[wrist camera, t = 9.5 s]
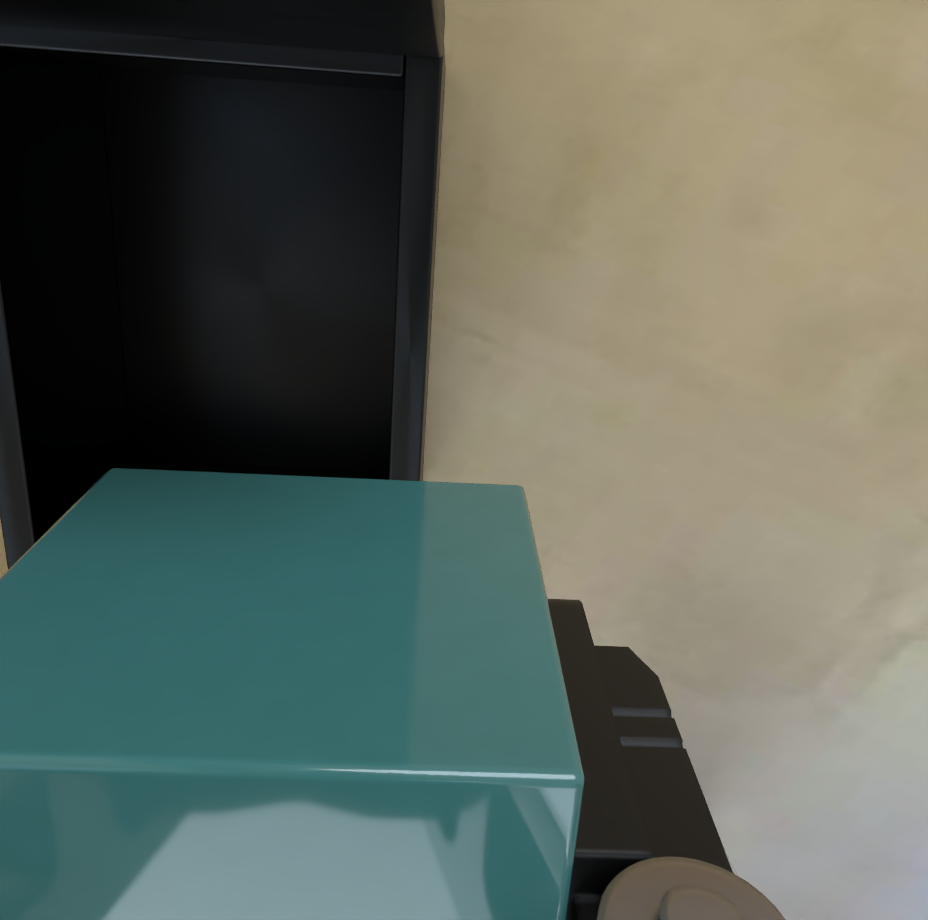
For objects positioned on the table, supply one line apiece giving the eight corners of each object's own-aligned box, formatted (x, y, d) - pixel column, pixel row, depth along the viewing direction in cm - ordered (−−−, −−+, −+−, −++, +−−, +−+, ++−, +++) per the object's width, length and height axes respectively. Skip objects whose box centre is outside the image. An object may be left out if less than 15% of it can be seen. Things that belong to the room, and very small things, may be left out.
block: (108, 464, 9) (-187, 754, 5) (525, 482, 9) (587, 778, 5) (143, 792, 10) (-54, 1222, 6) (497, 802, 11) (527, 1229, 6)
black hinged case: (422, 488, 30) (413, 604, 22) (118, 471, 29) (8, 583, 22) (445, 66, 25) (444, 39, 17) (80, 37, 24) (-78, -2, 17)
